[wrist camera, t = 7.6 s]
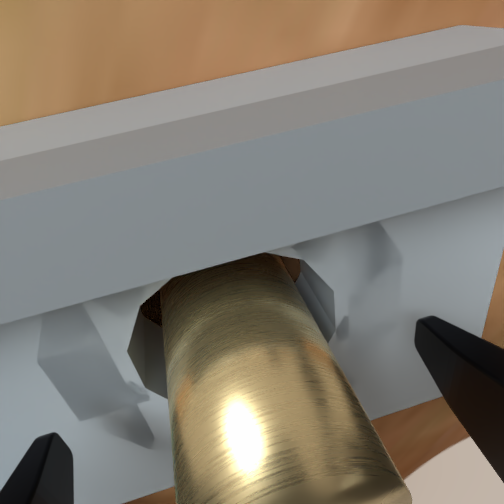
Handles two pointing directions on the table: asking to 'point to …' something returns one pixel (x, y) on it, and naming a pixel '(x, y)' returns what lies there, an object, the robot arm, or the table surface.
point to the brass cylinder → (263, 396)
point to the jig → (245, 233)
